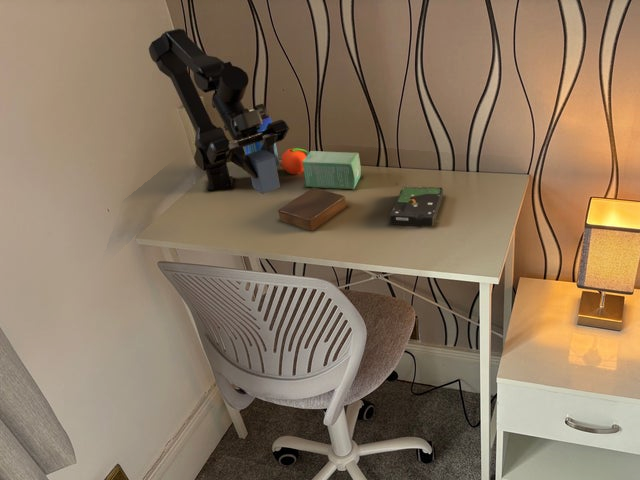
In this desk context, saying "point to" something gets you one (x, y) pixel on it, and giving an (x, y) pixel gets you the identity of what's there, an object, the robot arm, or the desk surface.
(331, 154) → the box
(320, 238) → the desk surface
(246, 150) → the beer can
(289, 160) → the clementine
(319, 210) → the brown flat block
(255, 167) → the small box
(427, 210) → the disk drive
